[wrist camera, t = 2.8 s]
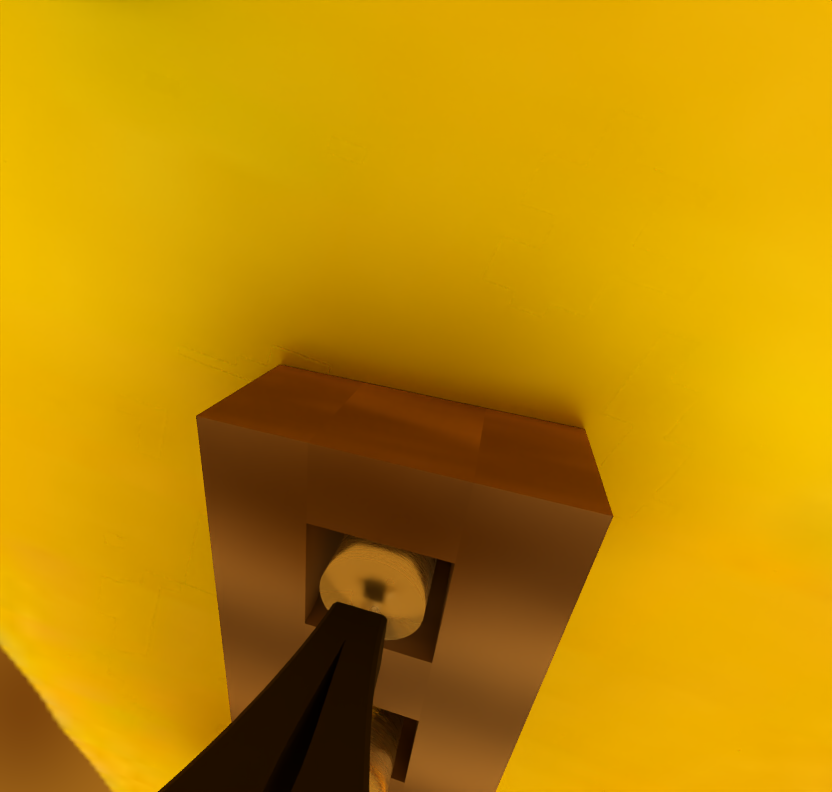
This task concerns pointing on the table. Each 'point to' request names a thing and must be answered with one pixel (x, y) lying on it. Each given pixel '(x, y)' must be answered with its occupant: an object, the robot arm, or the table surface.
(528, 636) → the socket block
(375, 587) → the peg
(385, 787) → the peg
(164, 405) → the table surface
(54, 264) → the table surface
